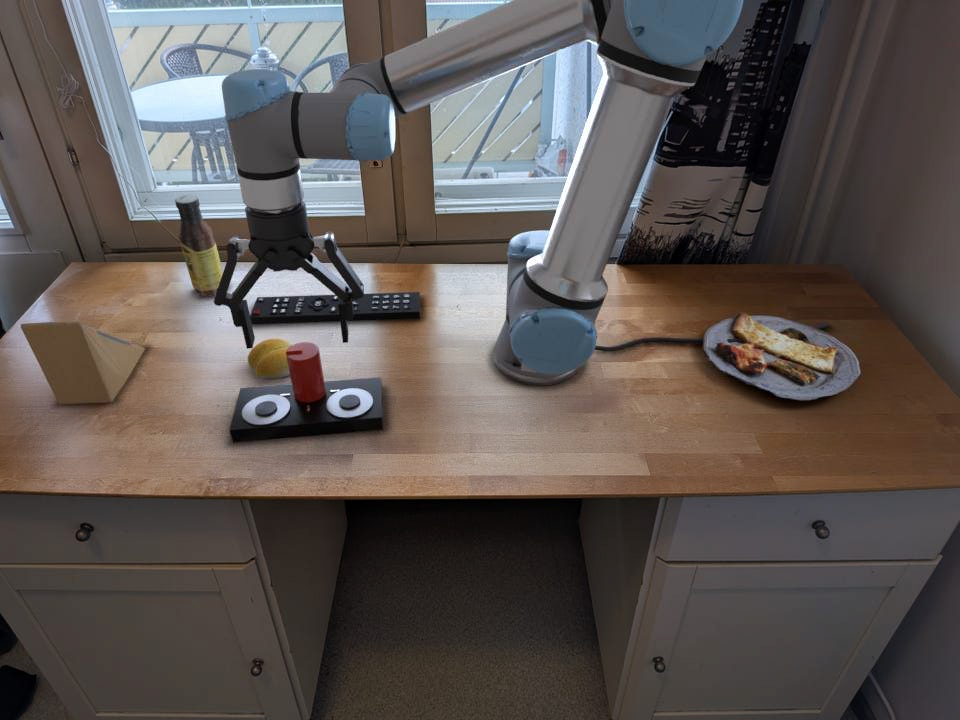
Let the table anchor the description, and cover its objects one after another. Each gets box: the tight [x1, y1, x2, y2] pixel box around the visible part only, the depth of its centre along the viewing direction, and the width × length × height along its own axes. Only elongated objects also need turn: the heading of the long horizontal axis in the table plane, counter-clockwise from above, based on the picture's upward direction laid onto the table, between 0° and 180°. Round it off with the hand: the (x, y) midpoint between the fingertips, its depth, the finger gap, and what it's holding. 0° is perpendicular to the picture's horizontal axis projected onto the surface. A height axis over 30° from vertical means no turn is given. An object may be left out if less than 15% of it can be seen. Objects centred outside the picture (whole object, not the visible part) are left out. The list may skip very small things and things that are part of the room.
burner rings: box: [242, 388, 373, 426], centre depth 98 cm, size 19×7×1 cm, turn 98°
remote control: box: [249, 291, 421, 326], centre depth 125 cm, size 8×32×2 cm, turn 94°
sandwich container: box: [20, 321, 146, 405], centre depth 104 cm, size 9×15×15 cm, turn 4°
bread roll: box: [247, 338, 292, 380], centre depth 110 cm, size 8×9×4 cm
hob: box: [228, 377, 384, 444], centre depth 101 cm, size 22×12×3 cm, turn 98°
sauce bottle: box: [174, 194, 224, 297], centre depth 126 cm, size 7×6×20 cm
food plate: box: [701, 311, 862, 401], centre depth 112 cm, size 25×23×4 cm
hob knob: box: [286, 341, 326, 403], centre depth 99 cm, size 5×5×8 cm
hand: (298, 340), depth 95 cm, fingers open, 13 cm apart
